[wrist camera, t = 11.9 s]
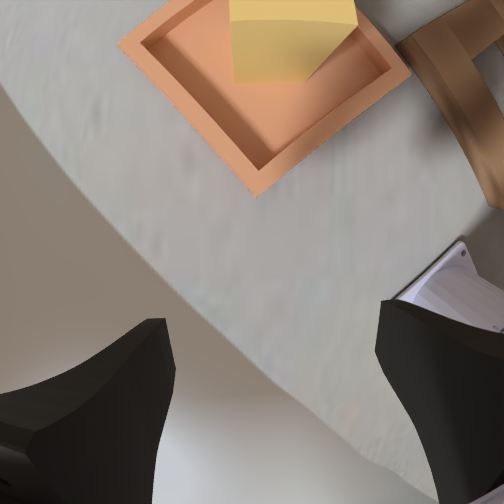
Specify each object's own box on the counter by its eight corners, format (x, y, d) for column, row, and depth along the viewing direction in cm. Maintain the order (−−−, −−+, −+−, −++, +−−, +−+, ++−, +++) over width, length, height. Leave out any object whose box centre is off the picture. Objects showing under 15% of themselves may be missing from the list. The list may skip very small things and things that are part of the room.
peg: (298, 23, 15) (340, -60, 7) (304, 82, 16) (357, 25, 8) (230, 24, 15) (225, -65, 7) (234, 84, 16) (229, 21, 8)
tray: (394, 82, 17) (412, 74, 15) (254, 192, 19) (256, 197, 17) (274, -43, 14) (278, -62, 12) (129, 56, 16) (116, 44, 14)
